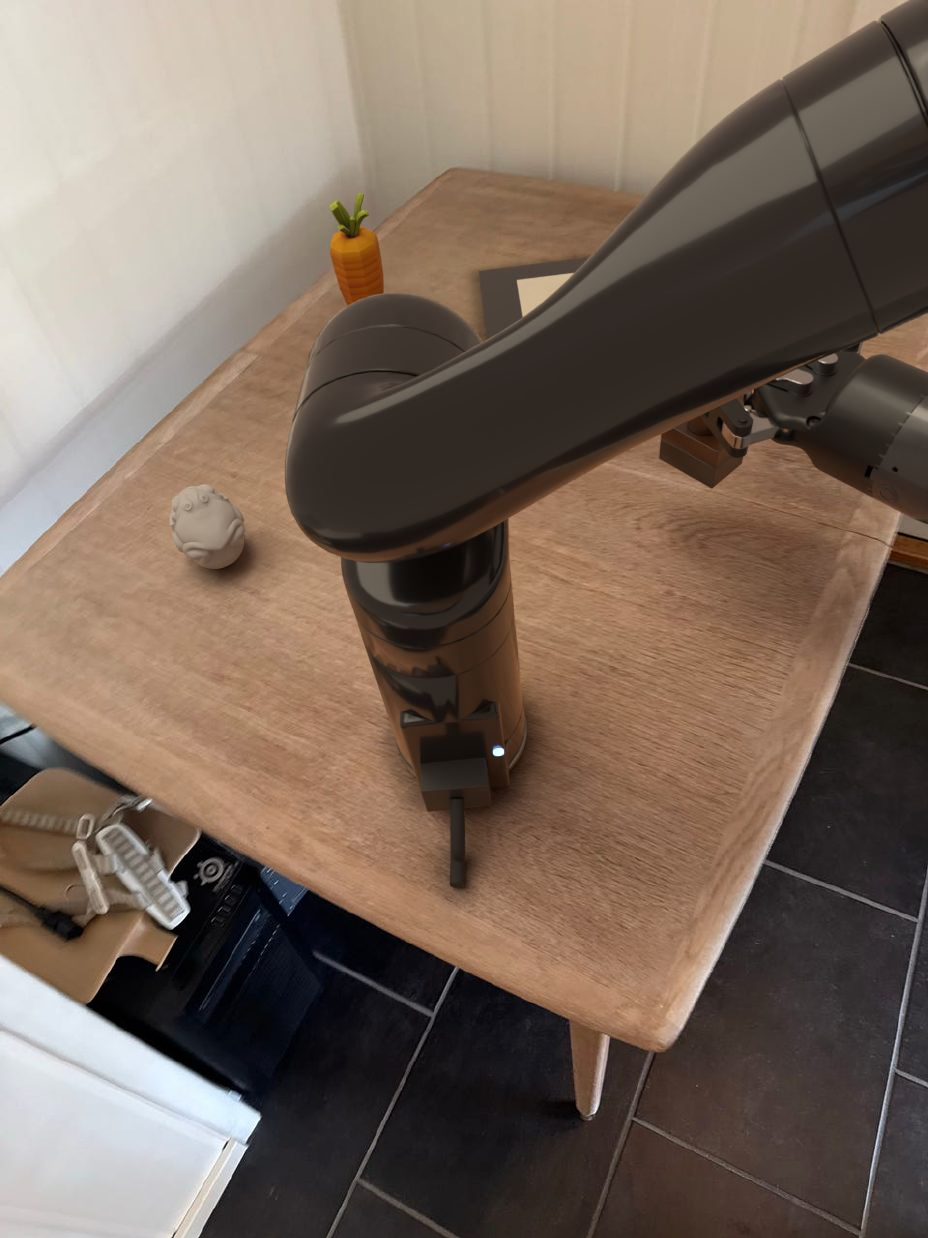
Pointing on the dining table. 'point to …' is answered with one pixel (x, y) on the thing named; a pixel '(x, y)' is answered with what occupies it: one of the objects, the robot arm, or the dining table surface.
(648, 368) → the robot arm
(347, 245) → the carrot
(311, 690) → the dining table surface
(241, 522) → the frog figurine
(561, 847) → the dining table surface
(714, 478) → the brown peg on block
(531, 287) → the tile
